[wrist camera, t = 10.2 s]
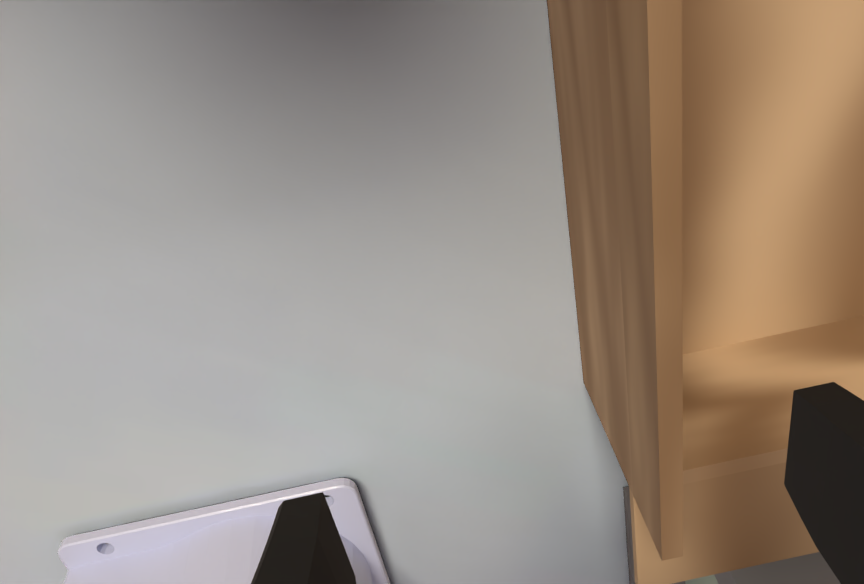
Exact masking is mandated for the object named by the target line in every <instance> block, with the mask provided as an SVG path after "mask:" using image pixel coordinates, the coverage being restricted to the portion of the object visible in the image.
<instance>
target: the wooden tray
mask: <svg viewBox="0 0 864 584" xmlns="http://www.w3.org/2000/svg"><path fill="white" fill-rule="evenodd" d="M547 6H548V17H549V27H550V37H551V48H552V58H553V69H554V79H555V89H556V100H557V110H558V121H559V131H560V141H561V152H562V162H563V173H564V183H565V193H566V204H567V214H568V225H569V235H570V245H571V256H572V266H573V277H574V287H575V297H576V308H577V318H578V329H579V339H580V349H581V360H582V370H583V381H584V384H585V386H586V389H587V391H588V393H589V396H590V398H591V400H592V402H593V405H594V407H595V409H596V412H597V414H598V416H599V418H600V421H601V423H602V425H603V428H604V430H605V432H606V434H607V437H608V439H609V441H610V444H611V446H612V448H613V450H614V453H615V455H616V457H617V460H618V462H619V464H620V466H621V469H622V471H623V473H624V476H625V478H626V480H627V482H628V485H629V491H630V508H631V525H632V542H633V559H634V576H635V583H636V584H672V583H677V582H682V581H686V580H691V579H695V578H700V577H705V576H709V575H714V574H719V573H723V572H728V571H733V570H737V569H742V568H747V567H751V566H756V565H761V564H765V563H770V562H775V561H779V560H784V559H789V558H793V557H798V556H802V555H807V554H812V553H816V552H819V550H818V549H817V547H816V546H815V544H814V542H813V540H812V538H811V536H810V534H809V532H808V531H807V529H806V527H805V525H804V523H803V521H802V519H801V517H800V515H799V513H798V511H797V509H796V507H795V505H794V503H793V501H792V499H791V497H790V495H789V493H788V491H787V489H786V487H785V485H784V478H785V469H786V459H787V450H788V440H789V430H790V421H791V411H792V401H793V392H794V390H798V389H802V388H807V387H812V386H816V385H821V384H826V383H830V382H835V383H837V384H838V385H840V386H841V387H843V388H845V389H846V390H848V391H849V392H851V393H853V394H854V395H856V396H857V397H859V398H861V399H862V400H864V0H547Z"/></svg>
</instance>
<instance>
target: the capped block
mask: <svg viewBox="0 0 864 584" xmlns="http://www.w3.org/2000/svg"><path fill="white" fill-rule="evenodd" d="M685 584H841V583H840V582H839V580H838V579H837V577H836V576H835V574H834V573H833V571H832V570H831V568H830V567H829V565H828V564H827V562H826V561H825V559H824V558H823V556H822V555H821V553H820V552H816V553H812V554H807V555H802V556H798V557H793V558H789V559H784V560H779V561H775V562H770V563H765V564H761V565H756V566H751V567H747V568H742V569H737V570H733V571H728V572H723V573H719V574H714V575H709V576H705V577H700V578H695V579H691V580H686V581H685Z"/></svg>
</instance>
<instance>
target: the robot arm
mask: <svg viewBox="0 0 864 584" xmlns="http://www.w3.org/2000/svg"><path fill="white" fill-rule="evenodd" d="M784 485H785V487H786V489H787V491H788V493H789V495H790V497H791V499H792V501H793V503H794V505H795V507H796V509H797V511H798V513H799V515H800V517H801V519H802V521H803V523H804V525H805V527H806V529H807V531H808V532H809V534H810V536H811V538H812V540H813V542H814V544H815V546H816V547H817V549H818V550H819V552H820V553H821V555H822V556H823V558H824V559H825V561H826V562H827V564H828V565H829V567H830V568H831V570H832V571H833V573H834V574H835V576H836V577H837V579H838V580H839V582H840V583H841V584H864V400H862V399H861V398H859V397H857V396H856V395H854V394H853V393H851V392H849V391H848V390H846V389H845V388H843V387H841V386H840V385H838V384H837V383H835V382H830V383H826V384H821V385H816V386H812V387H807V388H802V389H798V390H794V392H793V401H792V411H791V421H790V430H789V440H788V450H787V459H786V469H785V478H784ZM324 495H329V497H325V496H324ZM106 543H108V544H106ZM57 554H58V556H59V558H60V560H61V561H62V562H63V564H64V565H65V567H66V568H67V569H68V571H67V574H66V577H65V579H64V582H63V584H390V581H389V578H388V575H387V572H386V569H385V566H384V563H383V560H382V558H381V555H380V552H379V549H378V546H377V543H376V540H375V537H374V534H373V531H372V529H371V526H370V523H369V520H368V517H367V514H366V511H365V508H364V505H363V503H362V500H361V497H360V494H359V491H358V488H357V486H356V484H355V483H354V482H353V481H352V480H350V479H347V478H336V479H332V480H327V481H323V482H318V483H313V484H309V485H304V486H299V487H295V488H290V489H286V490H281V491H276V492H272V493H267V494H262V495H258V496H253V497H249V498H244V499H239V500H235V501H230V502H225V503H221V504H216V505H212V506H207V507H202V508H198V509H193V510H188V511H184V512H179V513H175V514H170V515H165V516H161V517H156V518H151V519H147V520H142V521H138V522H133V523H128V524H124V525H119V526H114V527H110V528H105V529H101V530H96V531H91V532H87V533H82V534H77V535H73V536H69V537H67V538H64V539H63V540H62V541H61V544H60V546H59V549H58V553H57Z"/></svg>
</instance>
